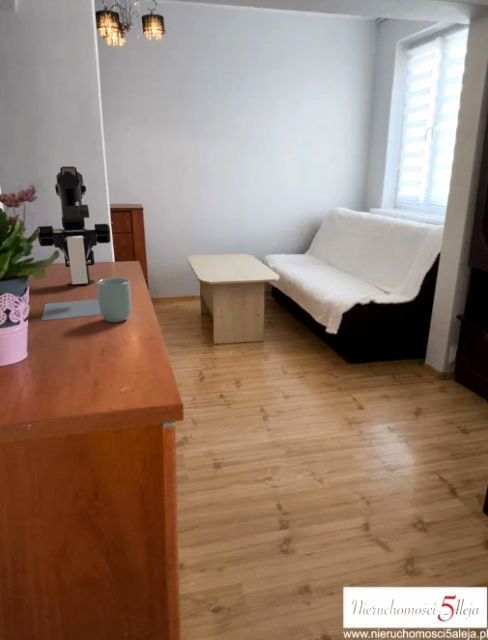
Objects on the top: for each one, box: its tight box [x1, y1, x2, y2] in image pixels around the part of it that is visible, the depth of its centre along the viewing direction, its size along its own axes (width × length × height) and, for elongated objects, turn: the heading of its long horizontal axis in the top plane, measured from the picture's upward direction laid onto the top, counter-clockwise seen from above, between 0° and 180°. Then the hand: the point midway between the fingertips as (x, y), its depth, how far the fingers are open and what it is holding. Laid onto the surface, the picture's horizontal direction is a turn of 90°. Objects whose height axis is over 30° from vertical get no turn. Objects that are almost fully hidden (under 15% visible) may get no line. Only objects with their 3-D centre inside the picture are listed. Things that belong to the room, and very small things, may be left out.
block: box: [67, 236, 88, 284], centre depth 125 cm, size 4×4×12 cm
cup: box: [96, 277, 132, 323], centre depth 113 cm, size 8×8×10 cm
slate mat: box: [40, 298, 102, 322], centre depth 125 cm, size 16×20×1 cm
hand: (77, 259), depth 123 cm, fingers closed on block, 4 cm apart
